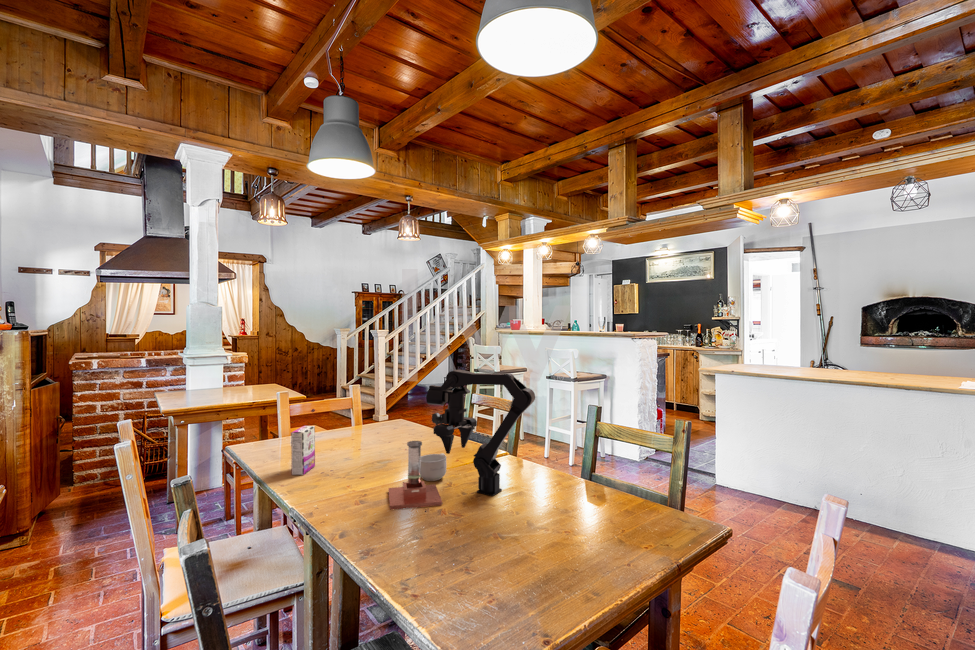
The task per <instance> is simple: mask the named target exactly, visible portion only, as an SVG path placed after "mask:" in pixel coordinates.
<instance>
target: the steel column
mask: <svg viewBox="0 0 975 650" xmlns="http://www.w3.org/2000/svg"><path fill="white" fill-rule="evenodd" d="M422 445H423V442H422V441H421V440H410V441H407V443H406V446H407V449H408V452H407V453H408V454H407V455H408V459H407V461H408V463H407V467H408V468H407V470H408V471H407V480H408V481H407V482H408V483H409V484H419V483H420V482H421V481H422V480H421V479H422V478H421V456H422V453H421V451H422V449H421V447H422Z"/></svg>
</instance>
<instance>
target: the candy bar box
mask: <svg viewBox="0 0 975 650" xmlns="http://www.w3.org/2000/svg"><path fill="white" fill-rule="evenodd" d="M315 427H316V426H315V425H303V426H301V427H299V428H297V429H295V430H293V431H292V432H290V433H291V434H290V435H291V436H290V437H291V438H290V439H291V442H290V445H291V446H290V447H291V476H304V475H306V474H307V473H308V472H310V471H311V470H312V469H314V467H316V435H315V434H316V430H315V429H316V428H315Z"/></svg>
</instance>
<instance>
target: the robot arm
mask: <svg viewBox="0 0 975 650" xmlns="http://www.w3.org/2000/svg"><path fill="white" fill-rule="evenodd" d="M469 385H487V386H488V385H490V386H495V385H496V386H504V388H506V390H507V392H508V393H509V394H510V396H511V397H512V398H513V399H512V402H511V406H510V409H509V411H508V413H507V414H506V416H505V417H504V419H503V420H502V422H501V423H500V424H499V427H497V429H496V431H495V432H494V434H493V435H492V437H491V438H490V440H489V442H483V443H482V444H481V445H479V447H478V449H477V451H476V453H475V454H473V457H474V458H473V459H472V462H473V466H474V468H475V469H476V470H477V473H478V477H477V478H478V479H477V481H478V485H477V487H478V488H477V490H476V493H477V494H482V495H487V496H491V497H494V496H496V495H498V493H500V492H502V490H503V489H502V488H500V481H501V479H500V477H501V475H500V473H499V471H500V469H501V466H502V464H501V463H500V462H499V461H498V460H497V459H496V458H497V455H498V453H499V449H500V447H501V445H502V444H503V443H504V441H505V439H506V438H507V437H508V435H509V433H511V432H510V431H511V430H512V429H513V428H514V426H515V425H516V422H517V421H518V420H519V418H520V417H521V415H522V414H523V413H524V412H525V411H527V409H528V408H529V407H531V405H532V404H533V403H534V402H535V400H536V394H535V392H534V390H532V389H531V388H528V387H526V385H525V384H523V382H522V381H520V380H519V379H518V378H516V377H515V376H514V375H513V373H511V372H507V373H489V372H488V373H487V372H483V373H480V372H472V371H468V370H464V369H455V370H450V371H449V372H448V373H447V374H446V377H445V381H444V382H443V383H442V385H435V384H431V385H428V390H427V393H426V397H425V398H426V400H425V401H426V403H427V405H435V406H436V405H437V406H444V405H445V404H446V403H447V408H445V409H444V413H441V414H440V413H439V412H435V413H432V414H431V422H432V423H433V424H435V425H434V426H433V428H432V429H433V432H432V433H433V434H434V435H435V436H437V437H439V438H440V439H441V441H442V445H443V448H444V450H445V453H446V454H447V455H450V454H451V450H452V447H453V442H454V438H455V434H454V432H455V430H457V429H458V431H459V433H460V445H461V448H463V449H464V448H466V445H467V443H468V441H469V439H470V437H471V436H472V433H473V431H474V430H475V427H477V426H478V424H477V423H478V421H477V419H476V418H475V417H468V416H465V413H466V412H467V411H468V409H467V408H466V407H465V395H468V394H471V390H469V388H467V386H469ZM460 387H461V388H460ZM450 389H453V390H450Z"/></svg>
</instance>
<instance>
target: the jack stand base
mask: <svg viewBox="0 0 975 650" xmlns="http://www.w3.org/2000/svg"><path fill="white" fill-rule="evenodd" d="M388 501H389V510H392V511H394V510H402V509H403V508H405V509H414V508H415V509H416V507H417V508H424V507H426V508H427V507H437V506H443V500H442V498H441V495H440V493H439V491H438V487H437V484H435V483H433V484H426V483H425V480H421V482H420V483H419V484H409V483H408V481H405V482H402V486H398V487H397V486H396V487H388ZM393 509H394V510H393Z"/></svg>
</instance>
